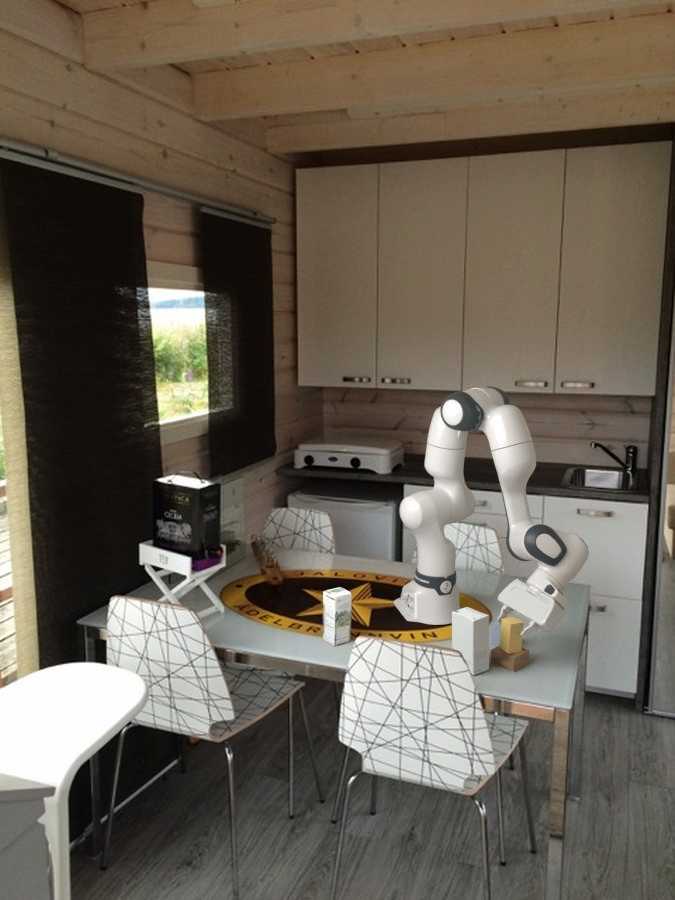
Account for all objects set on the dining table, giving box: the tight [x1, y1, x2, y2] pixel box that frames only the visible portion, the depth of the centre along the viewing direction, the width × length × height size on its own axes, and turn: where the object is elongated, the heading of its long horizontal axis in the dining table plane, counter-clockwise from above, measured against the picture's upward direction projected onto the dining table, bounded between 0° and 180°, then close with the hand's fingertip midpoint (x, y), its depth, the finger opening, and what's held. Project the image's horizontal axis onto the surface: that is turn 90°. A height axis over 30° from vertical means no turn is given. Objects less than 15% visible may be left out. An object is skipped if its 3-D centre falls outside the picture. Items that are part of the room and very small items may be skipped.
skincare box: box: [451, 606, 490, 676], centre depth 206 cm, size 8×6×15 cm
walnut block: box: [490, 645, 530, 673], centre depth 209 cm, size 7×7×4 cm
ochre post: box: [499, 616, 525, 654], centre depth 208 cm, size 4×4×8 cm
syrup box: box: [321, 586, 353, 647], centre depth 221 cm, size 6×6×14 cm
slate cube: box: [489, 623, 501, 648], centre depth 220 cm, size 5×5×5 cm
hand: (510, 629), depth 208 cm, fingers open, 8 cm apart
